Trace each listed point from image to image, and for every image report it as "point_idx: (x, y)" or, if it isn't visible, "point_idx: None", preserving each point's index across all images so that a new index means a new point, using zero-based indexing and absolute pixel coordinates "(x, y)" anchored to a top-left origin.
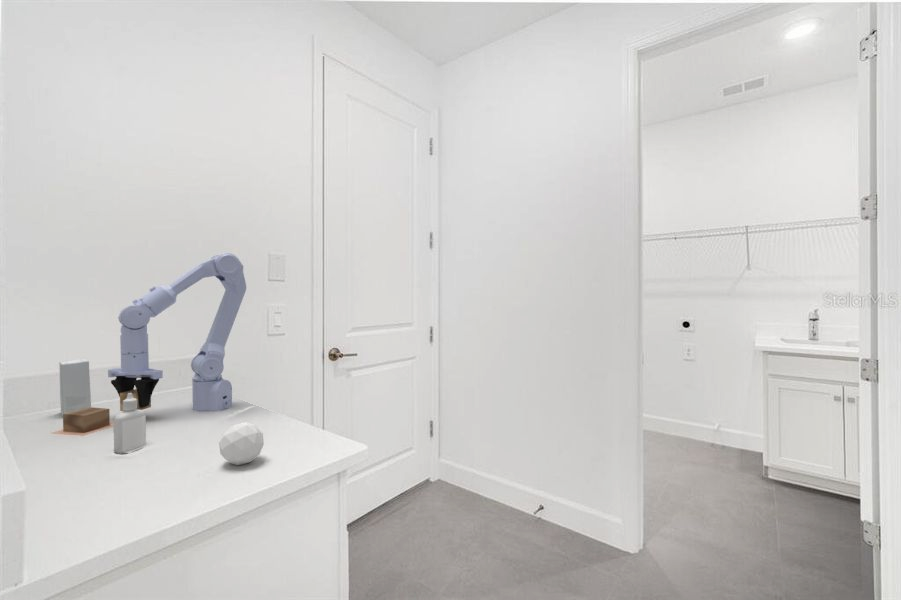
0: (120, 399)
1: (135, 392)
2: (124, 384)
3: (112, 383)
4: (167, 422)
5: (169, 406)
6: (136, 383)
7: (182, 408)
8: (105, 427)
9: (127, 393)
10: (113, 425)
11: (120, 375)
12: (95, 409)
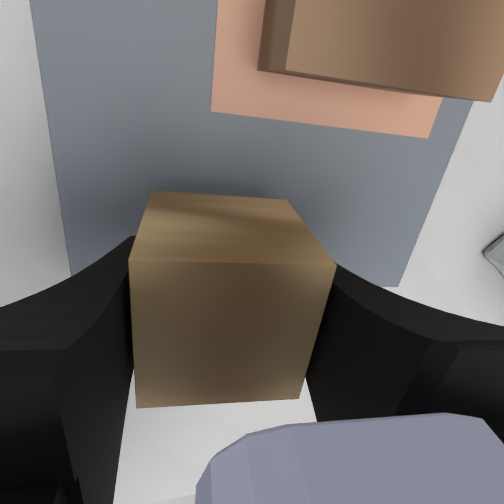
0: (308, 234)
1: (186, 310)
2: (362, 375)
3: (495, 327)
4: (17, 236)
5: (257, 419)
6: (2, 343)
7: (177, 413)
8: (241, 7)
9: (239, 264)
10: (225, 66)
11: (376, 419)
12: (397, 26)
